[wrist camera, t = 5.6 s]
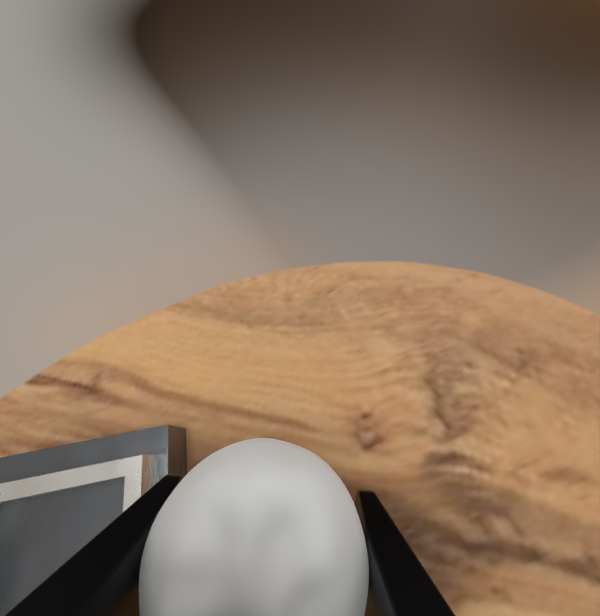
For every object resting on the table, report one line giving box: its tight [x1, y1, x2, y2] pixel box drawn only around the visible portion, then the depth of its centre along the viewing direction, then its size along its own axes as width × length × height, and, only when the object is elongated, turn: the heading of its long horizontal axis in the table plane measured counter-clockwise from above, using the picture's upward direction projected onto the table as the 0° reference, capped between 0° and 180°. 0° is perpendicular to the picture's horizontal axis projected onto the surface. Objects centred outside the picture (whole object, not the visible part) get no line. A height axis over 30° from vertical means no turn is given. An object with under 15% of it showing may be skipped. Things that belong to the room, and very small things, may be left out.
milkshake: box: [139, 438, 369, 616], centre depth 9 cm, size 5×5×10 cm
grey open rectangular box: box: [0, 425, 186, 616], centre depth 15 cm, size 12×10×5 cm
